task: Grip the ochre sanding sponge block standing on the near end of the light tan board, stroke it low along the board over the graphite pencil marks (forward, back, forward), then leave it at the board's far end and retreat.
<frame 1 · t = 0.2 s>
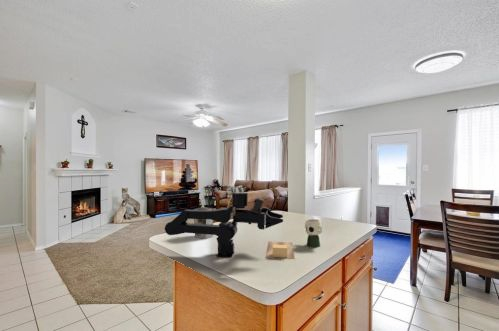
hand: (282, 218, 97), 17 cm above the worktop, tool horizontal, fingers open, 9 cm apart
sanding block: (280, 255, 96), point 1 cm above the worktop, touching board
character mug: (313, 247, 109), on the worktop
board: (280, 251, 104), on the worktop
coffee box: (204, 237, 128), on the worktop
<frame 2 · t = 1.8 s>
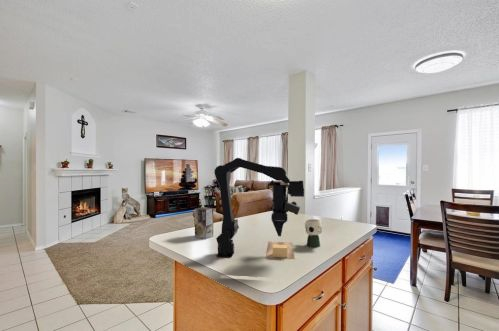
hand: (279, 233, 96), 11 cm above the worktop, tool pointing down, fingers open, 9 cm apart
nothing on the worktop moved.
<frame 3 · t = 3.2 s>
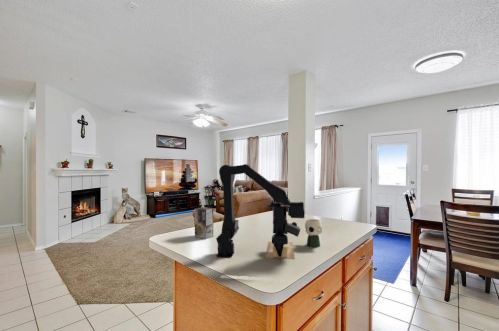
hand: (280, 254, 96), 2 cm above the worktop, tool pointing down, fingers closed on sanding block, 4 cm apart
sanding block: (280, 255, 96), point 1 cm above the worktop, touching board, gripper
everything else where it was.
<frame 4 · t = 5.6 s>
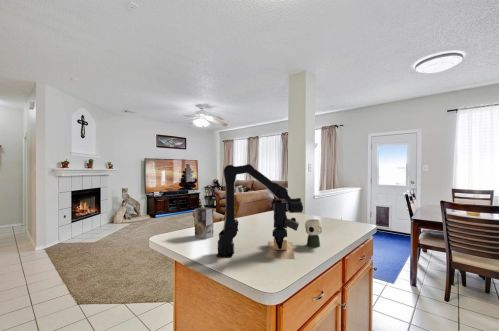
hand: (280, 247, 104), 2 cm above the worktop, tool pointing down, fingers closed on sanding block, 4 cm apart
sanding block: (280, 248, 104), point 1 cm above the worktop, touching gripper
everything else where it was.
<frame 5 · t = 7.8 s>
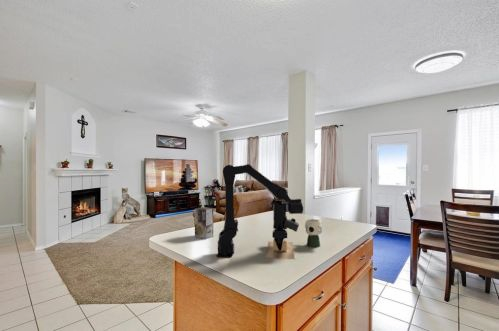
hand: (279, 248, 103), 2 cm above the worktop, tool pointing down, fingers closed on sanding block, 4 cm apart
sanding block: (279, 249, 103), point 1 cm above the worktop, touching gripper
everything else where it was.
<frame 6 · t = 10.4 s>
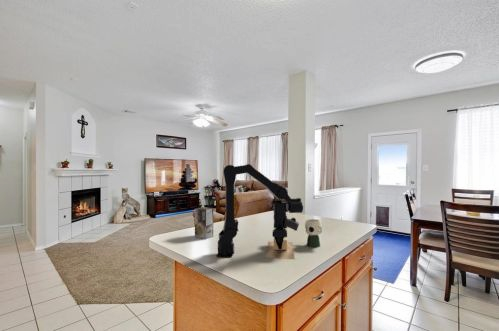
hand: (280, 247, 104), 2 cm above the worktop, tool pointing down, fingers closed on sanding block, 4 cm apart
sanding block: (280, 248, 104), point 1 cm above the worktop, touching gripper
everything else where it was.
when the fingers open (2 cm above the worktop, at t = 12.3 s): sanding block stays where it is, resting on board.
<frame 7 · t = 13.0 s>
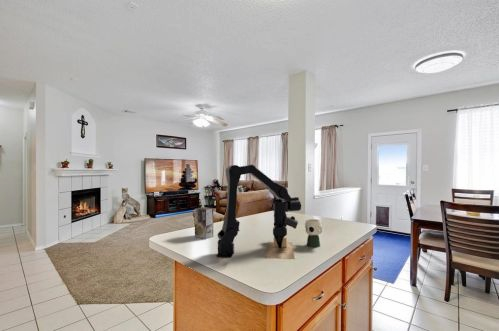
hand: (280, 244, 109), 2 cm above the worktop, tool pointing down, fingers open, 9 cm apart
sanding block: (280, 245, 109), point 1 cm above the worktop, touching board
everything else where it was.
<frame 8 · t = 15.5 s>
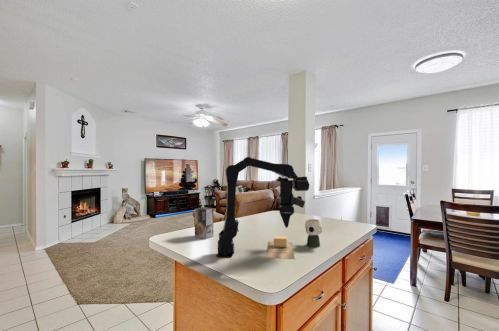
hand: (286, 225, 105), 12 cm above the worktop, tool pointing down, fingers open, 9 cm apart
nothing on the worktop moved.
at the end: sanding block inside the target area (0.0 cm from its centre), point 1.0 cm above the worktop; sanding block tilted 0°; the gripper is holding nothing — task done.
